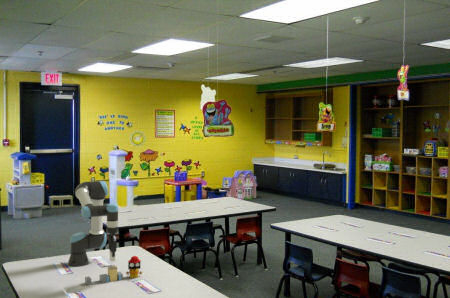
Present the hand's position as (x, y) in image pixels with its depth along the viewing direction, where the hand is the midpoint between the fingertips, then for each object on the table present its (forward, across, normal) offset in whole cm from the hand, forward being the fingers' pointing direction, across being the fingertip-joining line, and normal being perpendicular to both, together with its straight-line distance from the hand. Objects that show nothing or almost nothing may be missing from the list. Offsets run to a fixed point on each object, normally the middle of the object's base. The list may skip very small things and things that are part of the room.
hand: (112, 260), depth 307 cm
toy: (+15, -2, +16) cm, 22 cm away
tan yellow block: (+13, 0, 0) cm, 13 cm away
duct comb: (+14, 0, -6) cm, 16 cm away
